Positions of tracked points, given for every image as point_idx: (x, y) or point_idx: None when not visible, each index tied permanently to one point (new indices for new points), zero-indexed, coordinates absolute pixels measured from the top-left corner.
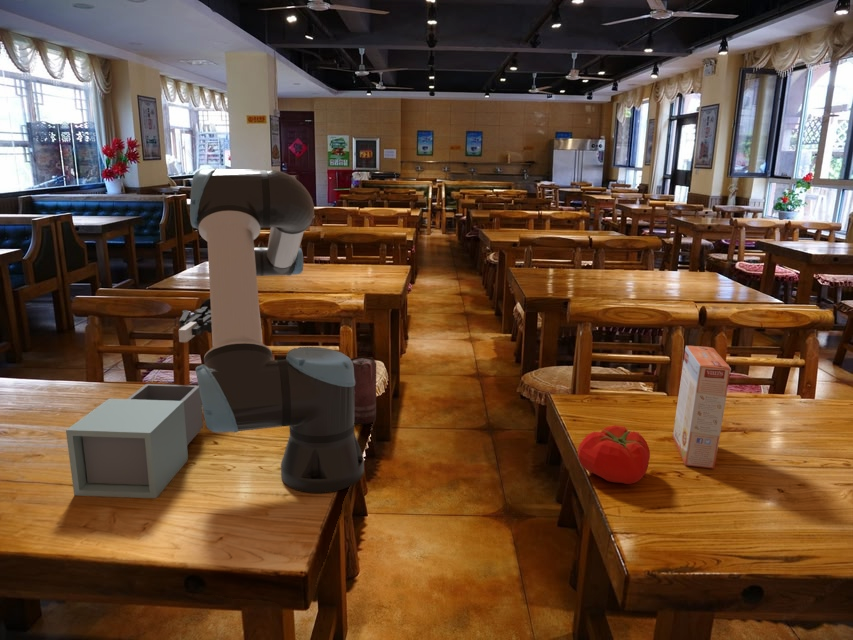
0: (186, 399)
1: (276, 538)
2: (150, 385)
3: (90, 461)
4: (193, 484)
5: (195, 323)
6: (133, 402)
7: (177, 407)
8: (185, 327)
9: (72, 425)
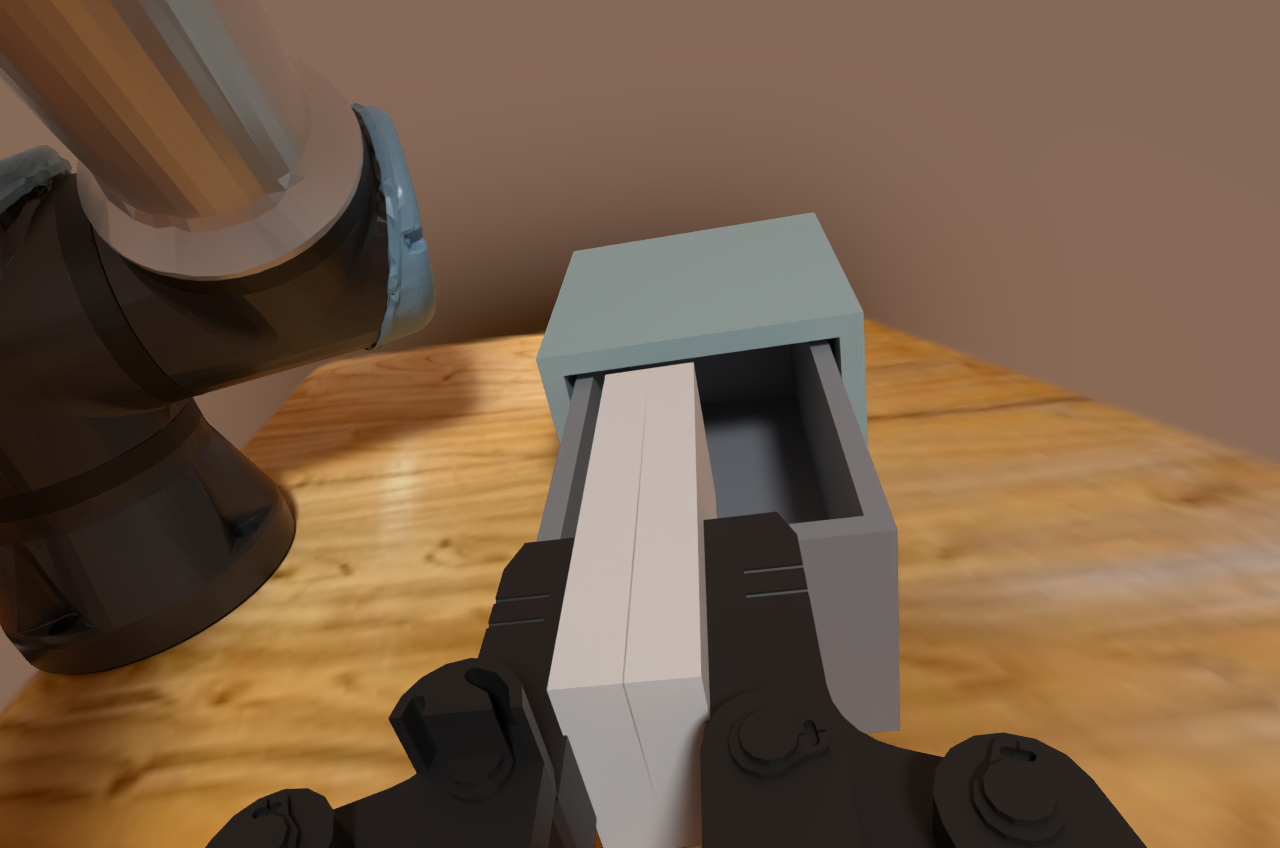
0: (561, 443)
1: (348, 394)
2: (849, 518)
3: None
4: (538, 475)
5: (562, 633)
6: (732, 316)
7: (546, 334)
8: (645, 430)
9: (817, 221)
